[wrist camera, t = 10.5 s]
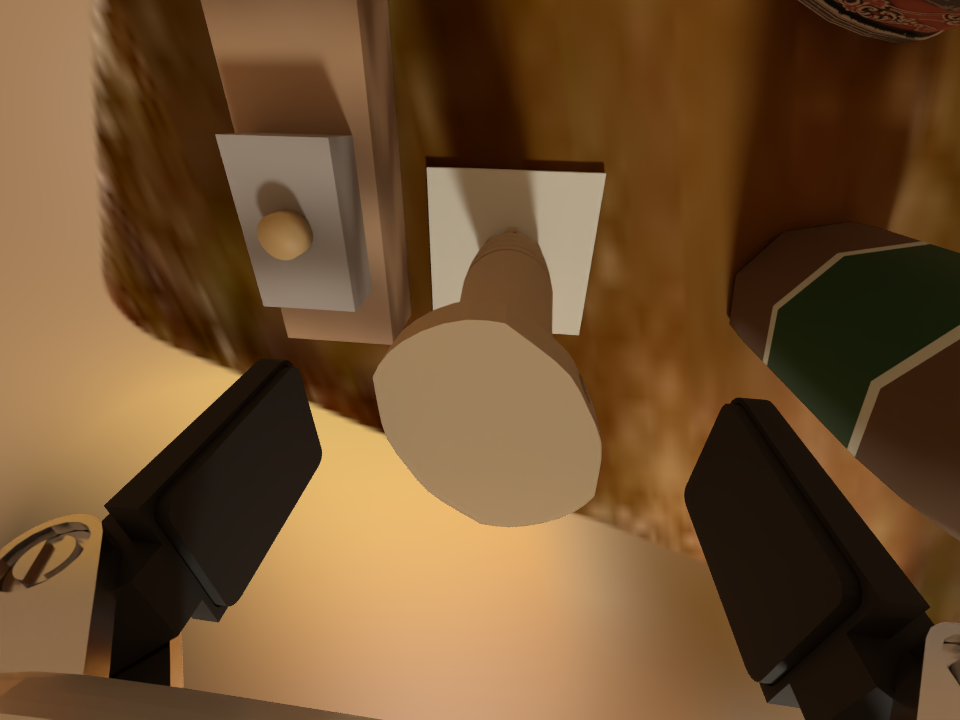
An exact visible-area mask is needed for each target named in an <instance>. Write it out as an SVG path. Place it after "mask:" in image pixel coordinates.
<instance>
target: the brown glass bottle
mask: <svg viewBox="0 0 960 720" xmlns="http://www.w3.org/2000/svg"><path fill="white" fill-rule="evenodd" d="M729 324H730V325H731V327H732V328H733V329H734V330H735V332H736V333H737V334H738V336H739V337H740V338H741V339H742V340H743V341H744V342H745V343H746V345H747V346H748V347H749V348H750V349H751V350H752V351H753V352H754V353H755V354H756V355H757V356H758V357H759V358H760V359H761V360H762V361H763V362H764V363H765V364H766V365H767V366H768V367H769V368H770V369H771V371H772V372H773V373H774V374H775V375H776V376H777V377H778V378H779V379H780V380H781V381H782V382H783V383H784V384H785V385H786V386H787V387H788V388H789V389H790V390H791V391H792V392H793V393H794V394H795V396H796V397H797V398H798V399H799V400H800V401H801V402H802V403H803V404H804V405H805V406H806V407H807V408H808V409H809V410H810V411H811V412H812V413H813V414H814V415H815V416H816V417H817V418H818V419H819V420H820V422H821V423H822V424H823V425H824V426H825V427H826V428H827V429H828V430H829V431H830V432H831V433H832V434H833V435H834V436H835V437H836V438H837V439H838V440H839V441H840V442H841V443H842V444H843V445H844V446H845V448H846V449H847V450H848V451H849V452H850V453H851V454H852V455H853V456H854V457H855V458H856V459H857V460H859V461H860V462H861V463H862V464H863V465H864V466H865V467H866V468H868V469H869V470H870V471H871V472H872V473H873V474H874V475H875V476H877V477H878V478H879V479H880V480H881V481H882V482H883V483H884V484H886V485H887V486H888V487H889V488H890V489H891V490H892V491H893V492H895V493H896V494H897V495H898V496H899V497H900V498H902V499H903V500H904V501H906V502H907V503H908V504H910V505H911V506H912V507H914V508H915V509H916V510H918V511H919V512H920V513H922V514H923V515H924V516H926V517H927V518H928V519H930V520H931V521H932V522H934V523H935V524H936V525H938V526H939V527H940V528H942V529H943V530H944V531H946V532H947V533H948V534H950V535H951V536H952V537H954V538H956V539H958V540H959V541H960V253H957V252H954V251H951V250H947V249H944V248H941V247H938V246H935V245H932V244H928V243H925V242H922V241H919V240H916V239H912V238H909V237H906V236H903V235H900V234H897V233H893V232H890V231H887V230H884V229H881V228H877V227H873V226H868V225H864V224H859V223H855V222H845V223H838V224H832V225H825V226H818V227H812V228H805V229H799V230H792V231H786V232H783V233H781V234H780V235H779V236H778V237H777V238H776V239H775V240H773V241H772V242H771V243H770V244H769V245H768V246H767V247H766V248H765V249H763V250H762V251H761V252H760V253H759V254H758V255H757V256H756V257H755V258H754V259H752V260H751V261H750V262H749V263H748V264H747V265H746V266H745V267H744V268H743V269H741V270H740V271H739V272H738V273H737V274H736V277H735V285H734V292H733V300H732V308H731V315H730V323H729Z"/></svg>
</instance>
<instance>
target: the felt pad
mask: <svg viewBox="0 0 960 720" xmlns="http://www.w3.org/2000/svg"><path fill="white" fill-rule="evenodd" d="M605 178H606V173H600V172H571V171H541V170H512V169H483V168H454V167H427V185H428V207H429V230H430V253H431V275H432V298H433V310H435V309H438V308H441V307H444V306H447V305H449V304H452V303H456V302H460V298H461V293H462V288H463V283H464V280H465V277H466V275H467V272H468V269H469V267H470V265H471V263H472V261H473V259H474V258H475V256H476V254H477V253H478V251H479V250H480V249H481V248H482V247H483V245H484V243H485V242H486V241H487V240H488V238H490V237H491V236H493V237H495V236H498V235H501V234H503V233H504V232H505V231H507V229H508V228H517V229H518V231H519V232H520V233H521V234H522V235H524V236H526V237H528V238H529V239H531V240H535V241H536V242H537V243H538V244H539V246H540V248H541V250H542V254H543V256H544V258H545V261H546V264H547V267H548V270H549V273H550V279H551V284H552V290H553V313H552V333H554V334H570V335H579V331H580V325H581V320H582V314H583V308H584V302H585V296H586V290H587V284H588V278H589V272H590V266H591V260H592V254H593V249H594V243H595V237H596V231H597V225H598V219H599V213H600V207H601V201H602V195H603V189H604V183H605Z"/></svg>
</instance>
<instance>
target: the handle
mask: <svg viewBox="0 0 960 720" xmlns="http://www.w3.org/2000/svg"><path fill="white" fill-rule="evenodd" d="M552 313H553V290H552V284H551V279H550V273H549V270H548V267H547V264H546V261H545V258H544V256H543V254H542V250H541V248H540V246H539V244H538V243H537V242H536V241H535V240H531V239H529V238H528V237H526V236H524V235H522V234H521V233H520V232H519V231H518V229H517V228H508V229H507V231H505V232H504V233H503V234H501V235H498V236H495V237H493V236H491V237H490V238H488V240H487V241H486V242H485V243H484V245H483V247H482V248H481V249H480V250H479V251H478V253H477V254H476V256H475V258H474V259H473V261H472V263H471V265H470V267H469V269H468V272H467V275H466V277H465V280H464V283H463V288H462V293H461V298H460V302H456V303H452V304H449V305H447V306H444V307H441V308H438V309H435V310H433V311H431V312H429V313H428V314H426V315H424V316H422V317H420V318H419V319H417V320H415V321H414V322H413V323H412V324H410V325H409V326H408V327H407V328H405V329H404V330H403V331H402V332H401V333H400V334H399V335H398V337H397V338H396V340H395V341H394V342H393V344H392V345H391V346H390V348H389V349H388V351H387V353H386V354H385V356H384V357H383V359H382V361H381V362H380V364H379V366H378V368H377V370H376V372H375V374H374V376H373V381H374V386H375V392H376V397H377V403H378V408H379V413H380V417H381V422H382V426H383V428H384V431H385V434H386V437H387V439H388V441H389V442H390V444H391V446H392V447H393V449H394V450H395V452H396V453H397V455H398V456H399V457H400V459H401V460H402V461H403V462H404V464H405V465H406V466H407V467H408V469H409V470H410V471H411V473H412V474H413V475H414V476H415V478H416V479H417V480H418V481H419V482H420V483H421V484H422V485H423V486H424V487H425V488H426V489H427V491H429V492H430V493H431V494H433V495H434V496H435V497H437V498H438V499H440V500H441V501H443V502H444V503H446V504H447V505H449V506H451V507H453V508H455V509H456V510H458V511H459V512H461V513H463V514H464V515H466V516H468V517H470V518H472V519H473V520H475V521H477V522H478V523H480V524H485V525H492V526H501V527H518V526H528V525H534V524H540V523H544V522H548V521H551V520H555V519H558V518H561V517H563V516H566V515H568V514H570V513H573V512H575V511H576V510H578V509H579V508H581V507H582V506H584V505H585V504H586V503H587V502H589V501H590V500H591V499H592V498H593V497H594V495H595V490H596V485H597V480H598V475H599V469H600V463H601V438H600V433H599V428H598V423H597V418H596V414H595V410H594V407H593V404H592V401H591V398H590V396H589V393H588V391H587V389H586V386H585V384H584V381H583V379H582V377H581V375H580V373H579V371H578V369H577V367H576V365H575V363H574V361H573V360H572V358H571V356H570V355H569V353H568V352H567V351H566V350H565V349H564V348H563V347H562V346H561V345H560V344H559V343H558V342H557V341H556V340H555V339H554V338H553V337H552Z"/></svg>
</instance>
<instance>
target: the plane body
mask: <svg viewBox="0 0 960 720" xmlns="http://www.w3.org/2000/svg"><path fill="white" fill-rule="evenodd" d="M201 3H202V7H203V11H204V15H205V19H206V23H207V26H208V30H209V34H210V38H211V42H212V46H213V50H214V53H215V57H216V61H217V65H218V69H219V73H220V76H221V80H222V84H223V88H224V92H225V96H226V100H227V103H228V107H229V111H230V115H231V119H232V123H233V126H234V130H235V133H232V134H215V135H216V139H217V142H218V146H219V149H220V153H221V157H222V160H223V164H224V167H225V171H226V174H227V178H228V181H229V185H230V188H231V192H232V195H233V199H234V202H235V206H236V209H237V213H238V217H239V220H240V224H241V227H242V231H243V234H244V238H245V241H246V245H247V248H248V252H249V255H250V259H251V262H252V266H253V269H254V273H255V277H256V280H257V284H258V287H259V291H260V294H261V298H262V301H263V305H264V306H270V307H281V311H282V315H283V319H284V322H285V326H286V330H287V334H288V338H303V339H317V340H332V341H346V342H360V343H375V344H389V345H392V344H393V342H394V341H395V340H396V338H397V337H398V335H399V334H400V332H401V331H402V329H403V327H404V326H405V324H406V322H407V321H408V319H409V317H410V316H411V303H410V290H409V276H408V263H407V250H406V237H405V224H404V210H403V197H402V184H401V171H400V157H399V144H398V131H397V118H396V104H395V91H394V78H393V65H392V52H391V38H390V25H389V12H388V0H201Z"/></svg>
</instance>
